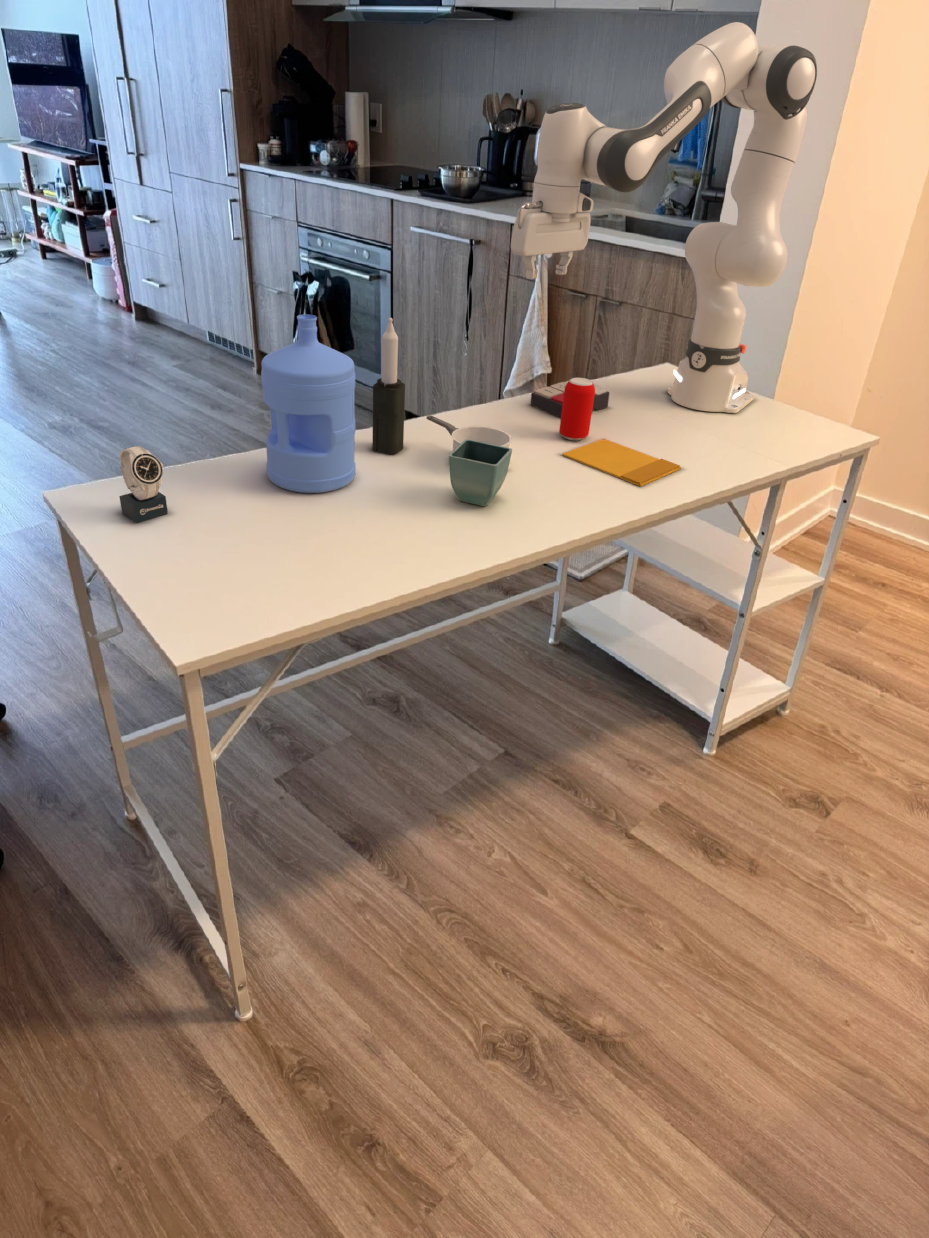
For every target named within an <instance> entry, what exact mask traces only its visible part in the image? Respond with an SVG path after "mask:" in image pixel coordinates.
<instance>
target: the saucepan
mask: <svg viewBox="0 0 929 1238" xmlns="http://www.w3.org/2000/svg"><path fill="white" fill-rule="evenodd" d="M425 419H426V420H428V421H430V422H432V423H433V424H436V425H438V426H440V427H442V428H445V430H446V431H447V432H448V434H449V435H450V437H451V438H452V452H453V451H454V450H455V449H456V448H457V447H458V446H459V445H460V444H461V443H462V442H463V441H464V440H465V439H468V440H474V441H479V442H483V443H487V444H492V445H497V446H502V447H507V448H510V445H511V443H512V441H513V437H512V436H511V435H510V433H509V432H506V431H504V430H502V429H499V428H496V427H491V426H482V425H473V426H472V425H469V426H463V427H456V426H455V425H453V424H452V423H450V422H447V421H444V420H443V419H440V418H438V417H436V416H434V415H431V414H429V415H426V418H425Z"/></svg>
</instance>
